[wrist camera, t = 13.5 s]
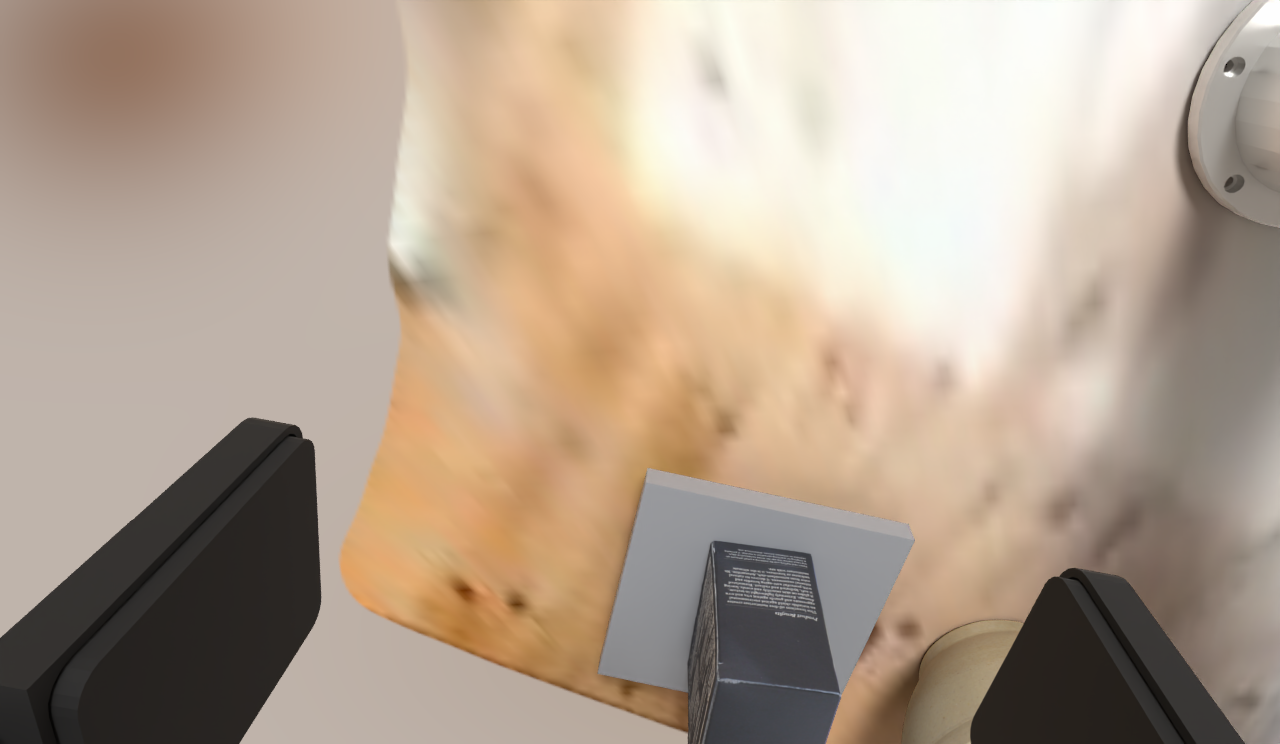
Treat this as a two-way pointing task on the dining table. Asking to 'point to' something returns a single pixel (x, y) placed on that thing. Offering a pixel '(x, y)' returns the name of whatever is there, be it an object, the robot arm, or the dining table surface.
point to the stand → (707, 511)
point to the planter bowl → (956, 681)
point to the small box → (760, 651)
